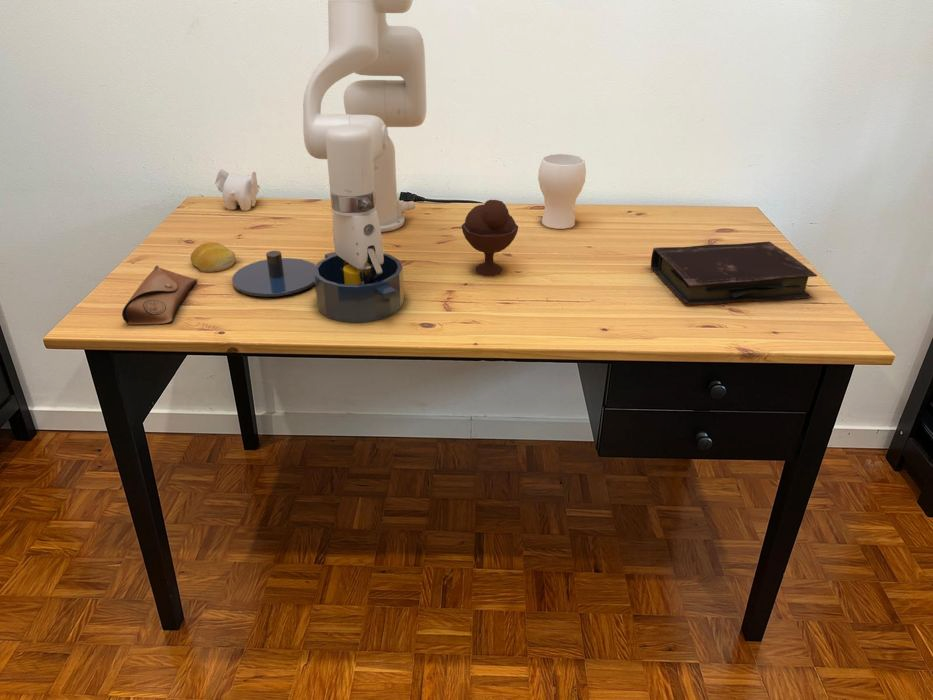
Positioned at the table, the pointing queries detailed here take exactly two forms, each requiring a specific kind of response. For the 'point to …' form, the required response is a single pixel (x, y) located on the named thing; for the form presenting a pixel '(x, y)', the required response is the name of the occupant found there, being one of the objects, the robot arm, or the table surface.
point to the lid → (274, 276)
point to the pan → (358, 292)
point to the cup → (561, 188)
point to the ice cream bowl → (489, 233)
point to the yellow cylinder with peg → (353, 274)
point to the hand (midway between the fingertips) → (360, 295)
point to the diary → (731, 273)
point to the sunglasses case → (157, 298)
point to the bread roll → (212, 257)
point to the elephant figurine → (237, 189)
